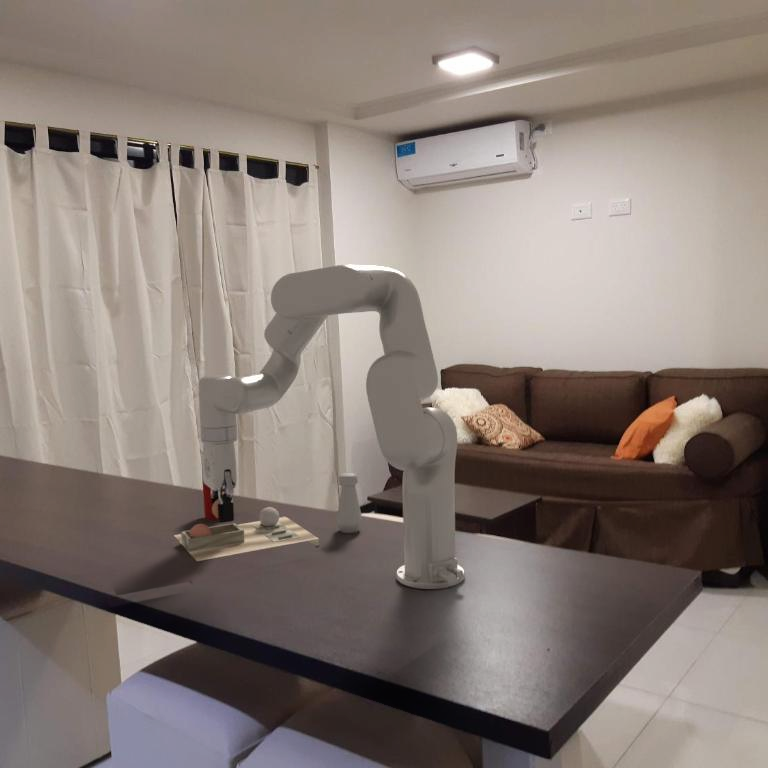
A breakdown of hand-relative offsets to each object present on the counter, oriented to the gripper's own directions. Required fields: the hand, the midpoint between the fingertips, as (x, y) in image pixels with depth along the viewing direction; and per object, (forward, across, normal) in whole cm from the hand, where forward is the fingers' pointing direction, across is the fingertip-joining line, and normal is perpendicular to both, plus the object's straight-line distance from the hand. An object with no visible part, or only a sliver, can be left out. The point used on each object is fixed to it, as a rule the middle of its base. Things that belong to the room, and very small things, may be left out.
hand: (222, 517), depth 164 cm
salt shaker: (+6, +4, +28) cm, 29 cm away
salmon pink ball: (0, 0, 0) cm, 0 cm away
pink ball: (+5, 0, -5) cm, 7 cm away
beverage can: (+7, -20, +5) cm, 21 cm away
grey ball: (+5, -4, +12) cm, 13 cm away
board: (+6, 0, +5) cm, 8 cm away
